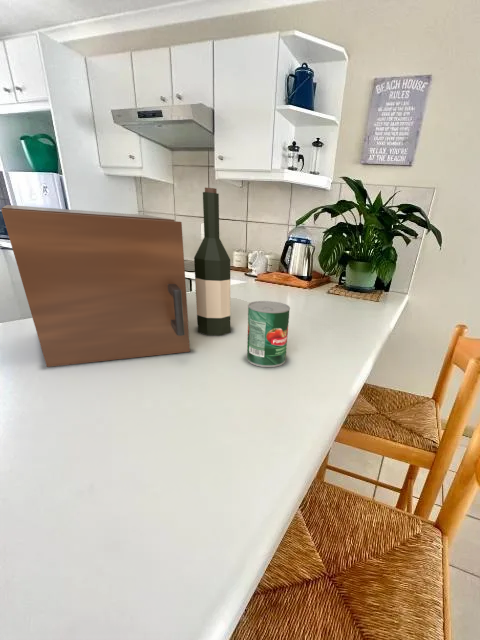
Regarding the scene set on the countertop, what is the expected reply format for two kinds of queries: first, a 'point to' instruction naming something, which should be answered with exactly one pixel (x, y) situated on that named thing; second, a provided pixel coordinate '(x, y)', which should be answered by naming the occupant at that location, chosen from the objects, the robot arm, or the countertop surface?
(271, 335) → the canned tomato
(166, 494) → the countertop surface
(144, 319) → the cupboard door
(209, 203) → the wine bottle
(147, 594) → the countertop surface
